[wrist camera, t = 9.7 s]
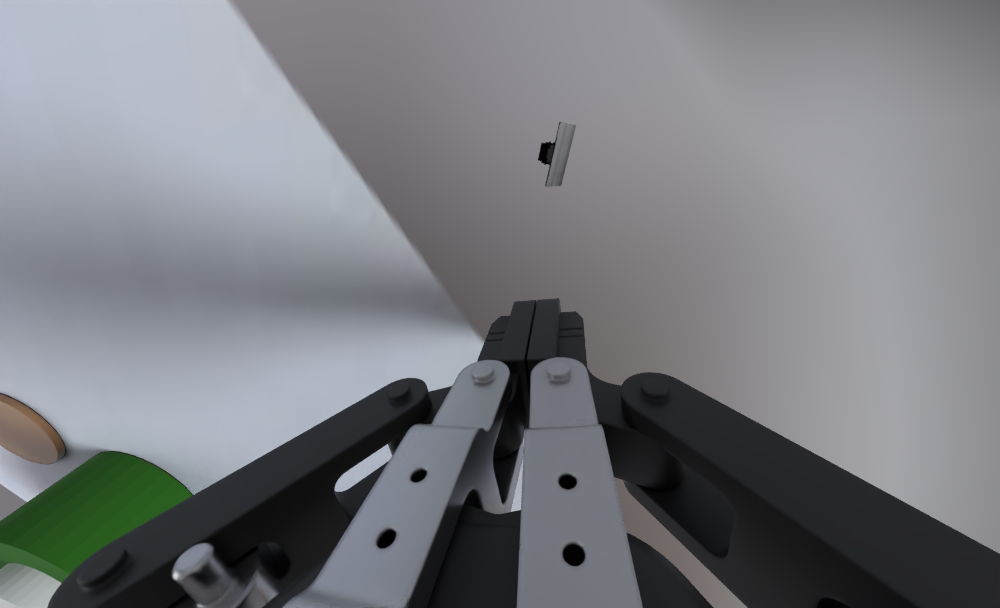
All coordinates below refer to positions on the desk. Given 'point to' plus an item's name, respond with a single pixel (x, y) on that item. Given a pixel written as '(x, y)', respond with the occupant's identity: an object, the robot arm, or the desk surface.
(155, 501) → the candle
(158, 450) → the desk surface
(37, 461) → the coaster
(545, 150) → the build plate
